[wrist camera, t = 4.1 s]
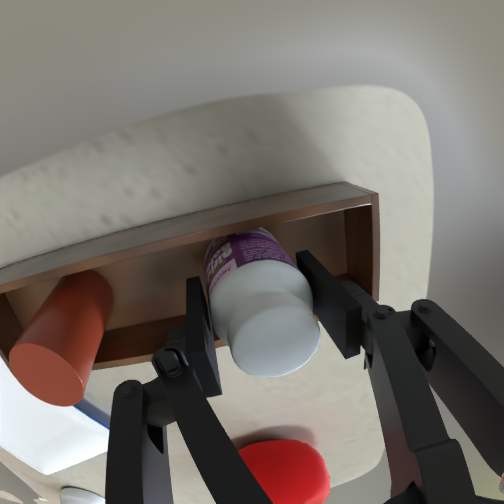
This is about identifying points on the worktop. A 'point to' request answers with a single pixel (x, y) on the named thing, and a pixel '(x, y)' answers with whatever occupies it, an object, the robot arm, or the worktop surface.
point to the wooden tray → (193, 263)
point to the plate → (45, 429)
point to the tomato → (288, 471)
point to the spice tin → (63, 339)
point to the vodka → (79, 497)
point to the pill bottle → (260, 304)
